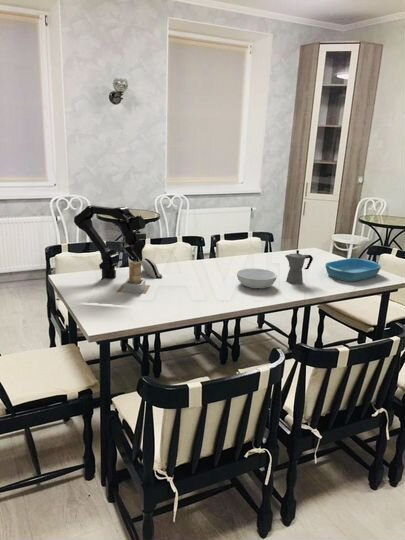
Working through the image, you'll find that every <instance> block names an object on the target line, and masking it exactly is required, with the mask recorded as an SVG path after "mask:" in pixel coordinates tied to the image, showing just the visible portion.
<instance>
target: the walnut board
mask: <svg viewBox="0 0 405 540" xmlns="http://www.w3.org/2000/svg"><path fill="white" fill-rule="evenodd" d="M150 287H151V285H148V284H145V289H144V291H143V293H142V294H143V295H146V294H147V292H148V291H149V289H150ZM116 293H125V292H124V283H122V284H121V285H120V286H119V288H118V289H117V290H116ZM138 294H139V295H140V293H138Z"/></svg>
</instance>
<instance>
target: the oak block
mask: <svg viewBox="0 0 405 540" xmlns="http://www.w3.org/2000/svg"><path fill="white" fill-rule="evenodd" d="M128 264H129V265H128V269H129V271H128V274H129V276H128V277H129V283H134V284H141V279H142V263H141V261H137V260H134V261H131V262H128Z"/></svg>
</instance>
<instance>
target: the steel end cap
mask: <svg viewBox="0 0 405 540" xmlns="http://www.w3.org/2000/svg"><path fill="white" fill-rule="evenodd" d="M123 284H124V292H125V293H126V294H139V293H140V294H142V293H143V291H144V289H145V285H146V279H144V278H141V284H134V283H129V278H127V280H126V281H125V282H124V283H123ZM124 292H123V293H124ZM140 294H139V295H140Z"/></svg>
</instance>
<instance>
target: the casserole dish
mask: <svg viewBox="0 0 405 540" xmlns="http://www.w3.org/2000/svg"><path fill="white" fill-rule="evenodd" d="M324 265H325V270H326V274H327V275H328V276H330V277H332V278H333V279H334V278H335V279H338V280H340V281H344V282H349V283H350V282H359V281H363V280H366V279H369V278H373V277H375V276H377V275H378V273H379V272H380V270H381V268H382V264H380V263H377V262H376V261H372V260H369V259H363V258H359V257H358V258H357V257H351V258H344V259H339V260H338V259H337V260H334V261H329V262H326V263H325V264H324Z"/></svg>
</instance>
